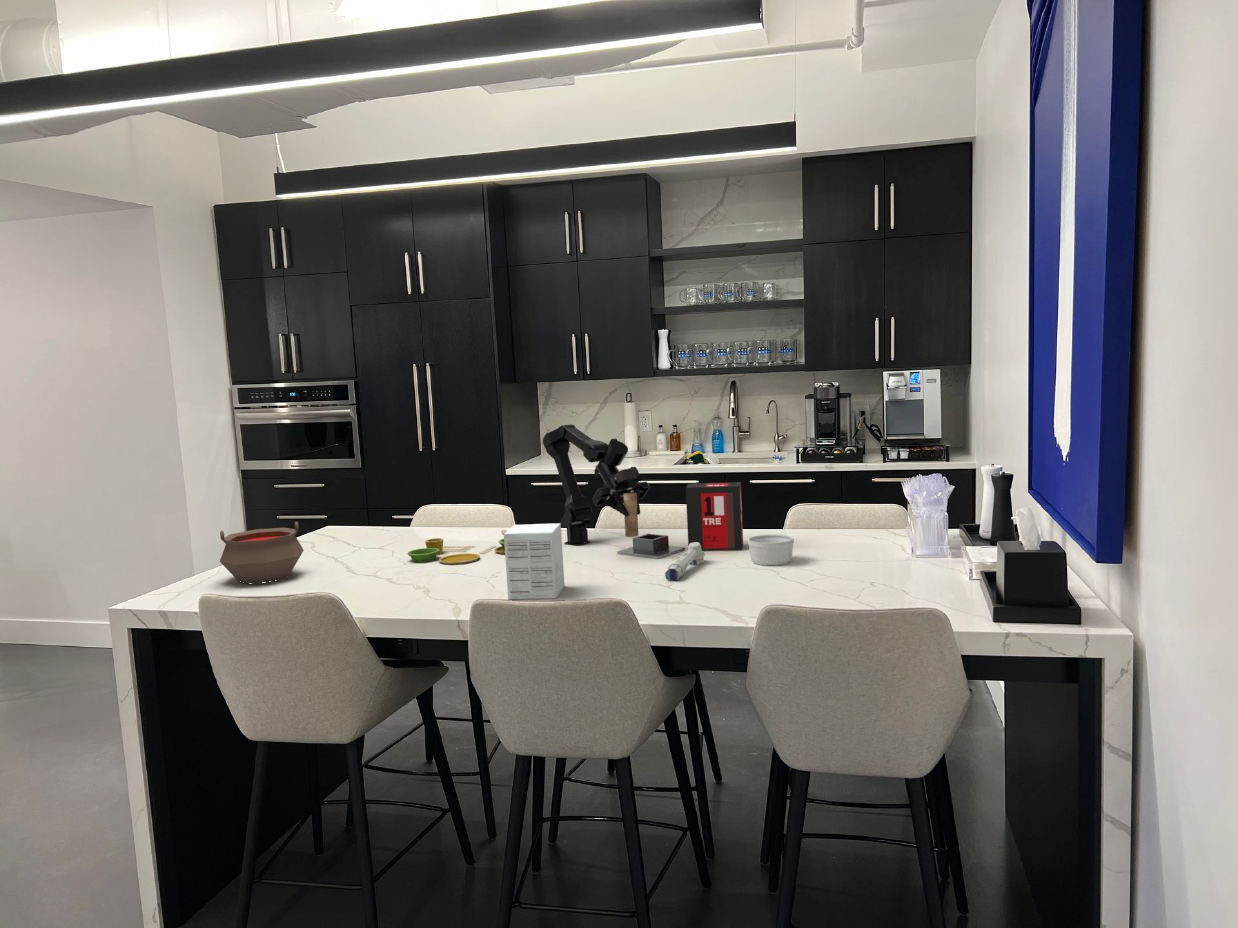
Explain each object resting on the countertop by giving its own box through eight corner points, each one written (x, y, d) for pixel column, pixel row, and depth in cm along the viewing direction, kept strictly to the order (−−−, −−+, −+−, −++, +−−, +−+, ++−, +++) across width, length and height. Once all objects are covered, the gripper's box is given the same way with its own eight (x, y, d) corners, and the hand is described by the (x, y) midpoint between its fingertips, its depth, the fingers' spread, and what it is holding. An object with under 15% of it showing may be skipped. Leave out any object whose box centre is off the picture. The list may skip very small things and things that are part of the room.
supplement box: (517, 587, 252) (513, 524, 250) (565, 585, 251) (561, 522, 249) (507, 600, 239) (502, 533, 237) (557, 598, 238) (552, 532, 236)
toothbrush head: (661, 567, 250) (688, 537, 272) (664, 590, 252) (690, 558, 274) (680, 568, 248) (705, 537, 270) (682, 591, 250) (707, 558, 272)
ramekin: (749, 556, 274) (749, 534, 274) (795, 556, 272) (794, 533, 271) (746, 567, 261) (746, 543, 261) (794, 567, 259) (793, 542, 258)
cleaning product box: (688, 551, 286) (685, 487, 284) (691, 545, 295) (688, 483, 293) (742, 550, 283) (739, 486, 281) (743, 544, 292) (740, 482, 290)
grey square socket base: (617, 553, 288) (616, 538, 287) (644, 545, 299) (643, 530, 298) (658, 558, 278) (657, 543, 277) (685, 549, 288) (684, 534, 288)
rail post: (622, 536, 281) (620, 494, 280) (631, 533, 284) (629, 492, 283) (632, 537, 279) (630, 495, 277) (641, 535, 282) (639, 493, 280)
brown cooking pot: (225, 592, 263) (219, 536, 262) (219, 577, 285) (213, 525, 283) (312, 579, 274) (307, 525, 272) (299, 565, 296) (295, 515, 294)
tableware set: (553, 548, 304) (552, 529, 304) (521, 568, 278) (520, 547, 277) (441, 547, 316) (439, 529, 315) (400, 566, 290) (398, 546, 289)
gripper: (595, 462, 277) (618, 502, 269) (645, 455, 287) (668, 494, 280) (582, 485, 284) (604, 525, 276) (631, 478, 295) (654, 516, 287)
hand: (633, 514), depth 280 cm, fingers closed on rail post, 4 cm apart
